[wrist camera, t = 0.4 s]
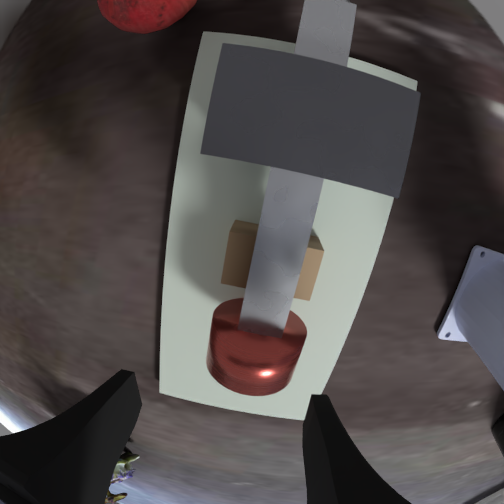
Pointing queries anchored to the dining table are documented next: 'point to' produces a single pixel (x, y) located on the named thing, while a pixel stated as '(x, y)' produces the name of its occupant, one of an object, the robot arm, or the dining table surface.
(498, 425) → the supplement bottle
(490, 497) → the plate stack
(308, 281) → the brown rectangular block
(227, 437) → the dining table surface
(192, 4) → the red kuri squash
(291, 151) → the block
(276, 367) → the rod
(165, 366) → the board
